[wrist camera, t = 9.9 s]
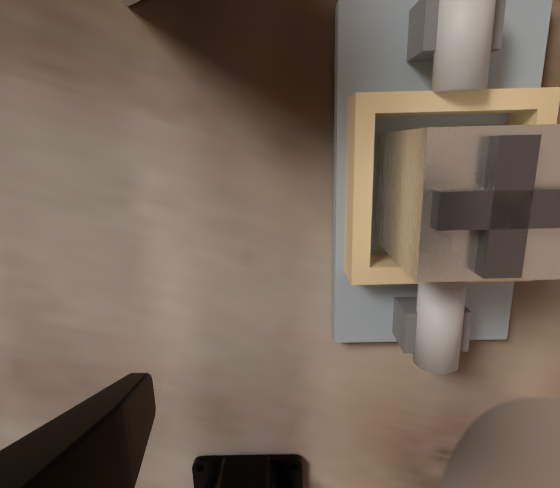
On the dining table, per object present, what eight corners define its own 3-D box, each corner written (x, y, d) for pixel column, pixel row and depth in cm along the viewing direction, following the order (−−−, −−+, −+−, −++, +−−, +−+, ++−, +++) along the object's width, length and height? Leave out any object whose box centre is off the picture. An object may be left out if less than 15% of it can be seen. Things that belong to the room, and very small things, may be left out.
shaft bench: (496, 330, 21) (545, 372, 17) (332, 333, 21) (343, 376, 17) (537, 2, 17) (613, -41, 13) (335, 7, 17) (351, -33, 13)
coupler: (489, 131, 17) (609, 122, 11) (477, 237, 19) (579, 285, 12) (378, 133, 17) (435, 126, 11) (374, 240, 19) (423, 288, 12)
